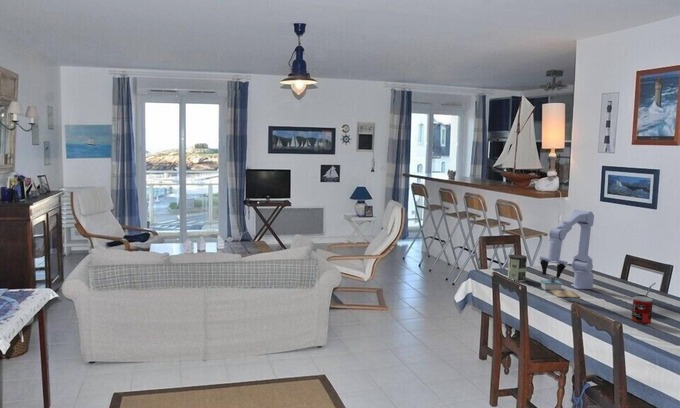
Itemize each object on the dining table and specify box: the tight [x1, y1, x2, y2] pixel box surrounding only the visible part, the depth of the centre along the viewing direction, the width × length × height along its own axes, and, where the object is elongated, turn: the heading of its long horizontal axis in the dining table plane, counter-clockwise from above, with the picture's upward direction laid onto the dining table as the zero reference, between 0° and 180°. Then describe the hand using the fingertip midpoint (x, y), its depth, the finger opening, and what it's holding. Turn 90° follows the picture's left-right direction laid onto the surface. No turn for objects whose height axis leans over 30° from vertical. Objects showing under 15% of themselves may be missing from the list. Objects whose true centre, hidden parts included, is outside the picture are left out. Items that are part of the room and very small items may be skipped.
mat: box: [549, 289, 581, 299], centre depth 303 cm, size 12×12×1 cm
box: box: [540, 281, 562, 291], centre depth 315 cm, size 9×6×3 cm, turn 89°
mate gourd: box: [635, 282, 656, 298], centre depth 274 cm, size 8×8×15 cm
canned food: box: [631, 295, 654, 325], centre depth 260 cm, size 8×8×11 cm
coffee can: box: [507, 254, 528, 283], centre depth 333 cm, size 10×10×14 cm
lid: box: [540, 275, 563, 286], centre depth 315 cm, size 10×7×4 cm
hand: (550, 276), depth 299 cm, fingers open, 7 cm apart
